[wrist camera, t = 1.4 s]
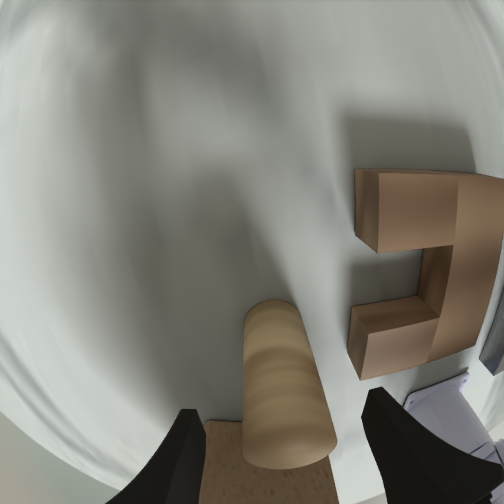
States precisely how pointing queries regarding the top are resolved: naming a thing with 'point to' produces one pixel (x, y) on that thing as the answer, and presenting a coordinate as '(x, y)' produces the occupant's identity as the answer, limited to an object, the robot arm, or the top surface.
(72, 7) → the top surface
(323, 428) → the dowel
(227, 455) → the wooden block
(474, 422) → the robot arm
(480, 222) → the block
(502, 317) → the rail
